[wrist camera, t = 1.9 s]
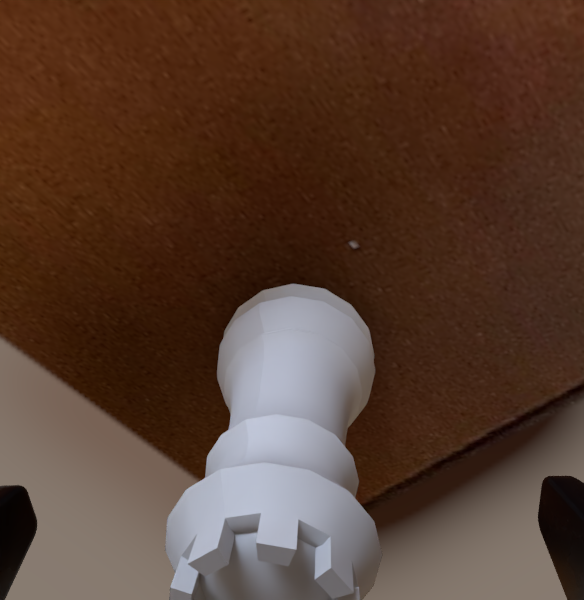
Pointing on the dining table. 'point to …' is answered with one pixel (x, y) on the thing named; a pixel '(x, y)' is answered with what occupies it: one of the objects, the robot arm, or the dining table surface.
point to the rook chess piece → (282, 460)
